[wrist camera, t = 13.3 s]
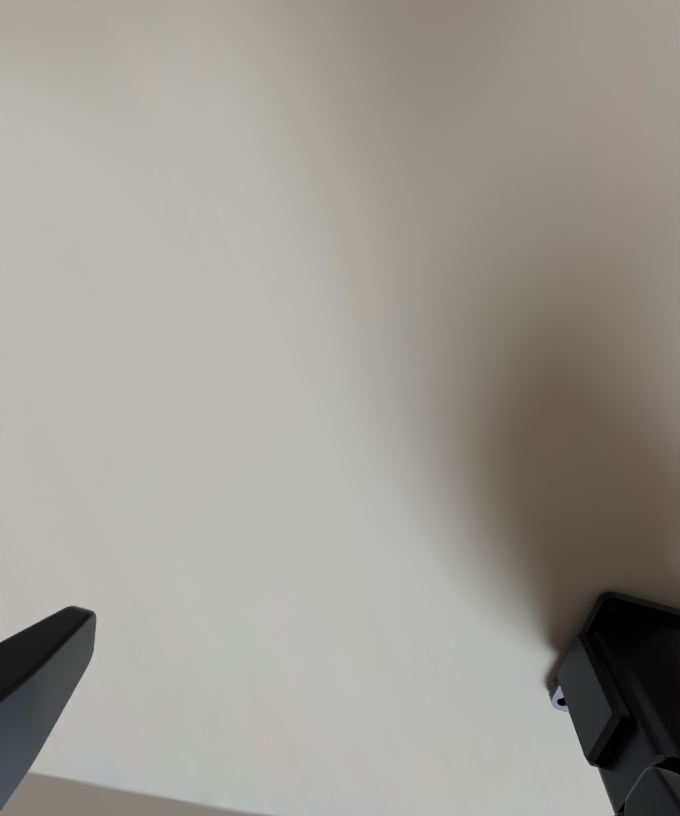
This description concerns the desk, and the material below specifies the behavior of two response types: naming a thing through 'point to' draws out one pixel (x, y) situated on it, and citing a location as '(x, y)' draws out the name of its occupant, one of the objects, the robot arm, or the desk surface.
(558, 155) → the desk surface
